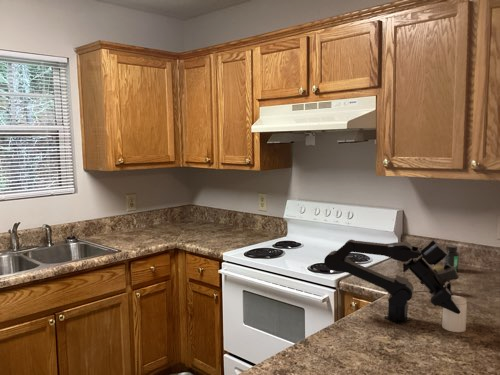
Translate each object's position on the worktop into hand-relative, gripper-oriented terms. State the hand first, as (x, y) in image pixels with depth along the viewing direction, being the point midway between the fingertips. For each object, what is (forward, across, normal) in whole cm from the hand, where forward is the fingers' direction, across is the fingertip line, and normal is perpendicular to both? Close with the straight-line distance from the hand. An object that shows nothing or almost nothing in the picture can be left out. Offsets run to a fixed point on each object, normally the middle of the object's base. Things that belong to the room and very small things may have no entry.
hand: (459, 309), depth 149 cm
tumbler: (+4, 0, +6) cm, 7 cm away
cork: (0, +37, +9) cm, 38 cm away
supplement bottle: (+4, +74, +6) cm, 74 cm away
